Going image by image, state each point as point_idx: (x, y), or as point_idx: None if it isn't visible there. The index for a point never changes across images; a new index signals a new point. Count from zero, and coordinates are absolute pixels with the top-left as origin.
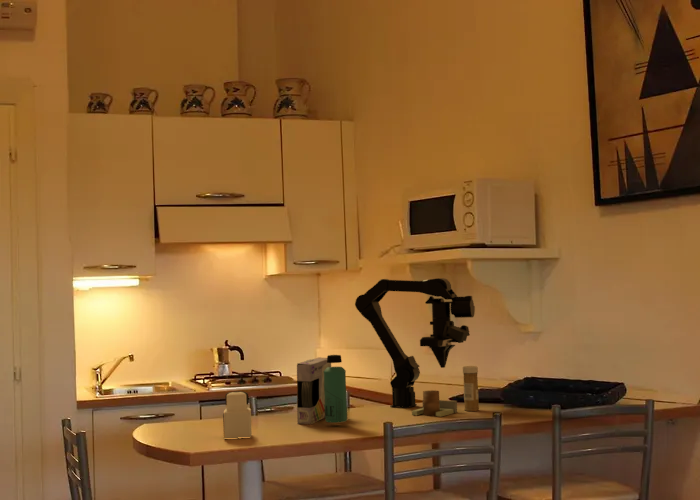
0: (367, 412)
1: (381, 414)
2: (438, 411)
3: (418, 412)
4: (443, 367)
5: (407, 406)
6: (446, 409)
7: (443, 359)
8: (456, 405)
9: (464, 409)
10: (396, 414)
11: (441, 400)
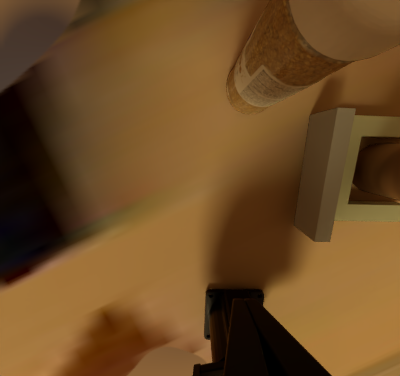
0: (353, 337)
1: (382, 293)
2: (393, 143)
3: (392, 203)
4: (255, 300)
5: (261, 292)
6: (357, 133)
7: (326, 372)
8: (328, 111)
9: (262, 110)
10: (377, 261)
11: (336, 171)
